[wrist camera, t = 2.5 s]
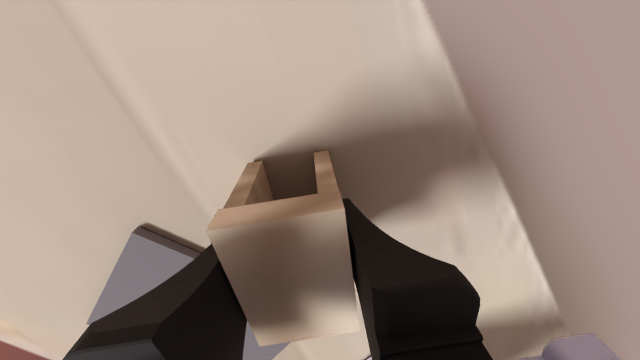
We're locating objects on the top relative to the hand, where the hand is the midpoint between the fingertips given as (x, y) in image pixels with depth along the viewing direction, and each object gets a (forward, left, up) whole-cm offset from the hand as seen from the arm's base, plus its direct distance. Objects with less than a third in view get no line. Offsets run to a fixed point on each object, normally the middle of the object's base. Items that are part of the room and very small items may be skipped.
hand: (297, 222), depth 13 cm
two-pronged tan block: (0, 0, -2) cm, 2 cm away
